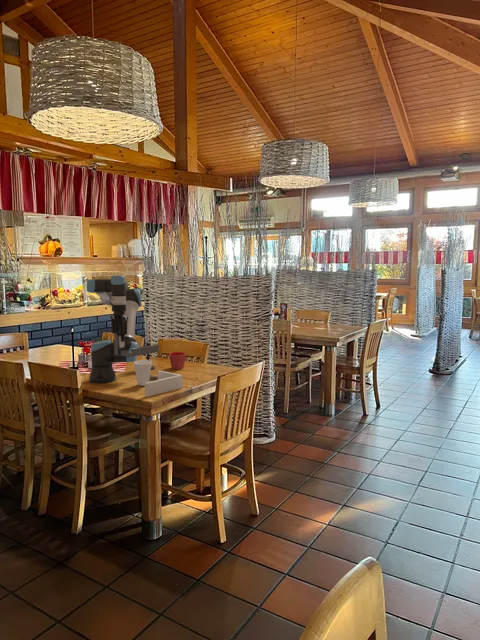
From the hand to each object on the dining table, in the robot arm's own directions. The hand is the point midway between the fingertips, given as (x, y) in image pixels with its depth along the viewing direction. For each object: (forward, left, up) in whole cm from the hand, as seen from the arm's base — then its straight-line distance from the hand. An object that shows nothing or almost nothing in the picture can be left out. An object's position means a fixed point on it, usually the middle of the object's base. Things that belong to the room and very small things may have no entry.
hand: (119, 346), depth 259 cm
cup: (+5, +12, -23) cm, 26 cm away
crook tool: (+4, +8, -4) cm, 10 cm away
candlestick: (-28, +41, -23) cm, 55 cm away
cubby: (+17, +10, -23) cm, 30 cm away
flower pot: (-15, +55, -23) cm, 62 cm away
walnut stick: (-3, +22, -23) cm, 32 cm away
